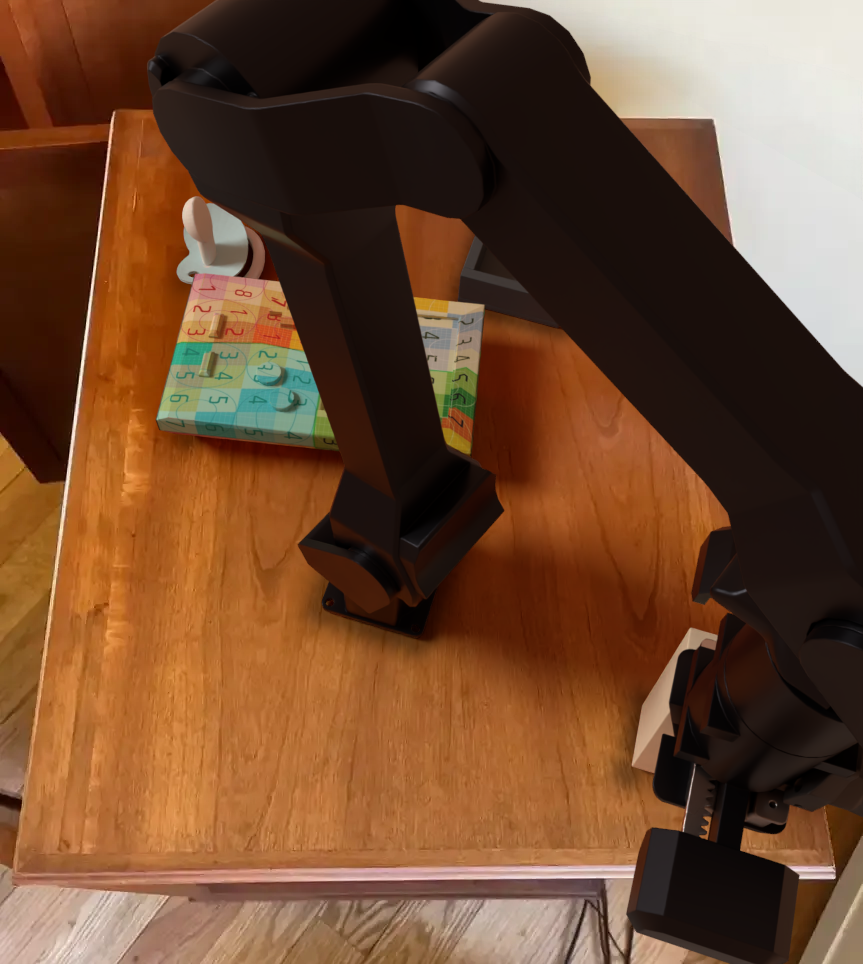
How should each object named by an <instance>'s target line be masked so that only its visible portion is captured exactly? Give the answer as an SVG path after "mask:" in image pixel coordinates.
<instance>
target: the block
mask: <svg viewBox="0 0 863 964" xmlns="http://www.w3.org/2000/svg"><path fill="white" fill-rule="evenodd" d="M717 637H718V634H715V633H711V632H708V631H705V630H701V629H699V628H694V627H689V629H687V632H686V634H685V635H684V636H683V638H682V640H681V641H680V644H679V645H678V647H677V648H676V650H674V651H675V652H674V653H673V655H672V656H671V658H670V660H669V661H668V662H667V665H666V666H665V668H664V669H663V671H662V673H661V674H660V676H659V677H658V679H657V681H656V682H655V684H654V686H653V687H652V689H651V690H650V692H649V694H648V695H647V697H646V698H645V700H644V702H643V703H642V705H641V711H640V716H639V721H638V727H637V732H636V739H635V744H634V750H633V755H632V760H631V767H632V768H636V769H639V770H641V771H645V772H648V773H652V774H654V772H655V767H656V762H657V757H658V752H659V747H660V742H661V738H662V734H668V735H671V736H674V733H673V726H672V721H671V715H670V709H669V698H670V693H671V688H672V683H673V678H674V673H675V668H676V664H677V659H678V656H679V654H680V653H681V652H682V651H684V650H686V649H695V650H696V649H697V648H698V647H699V646H700V644H701V642H702V641H703V640H704V639H711V640H715V641H717Z"/></svg>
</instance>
